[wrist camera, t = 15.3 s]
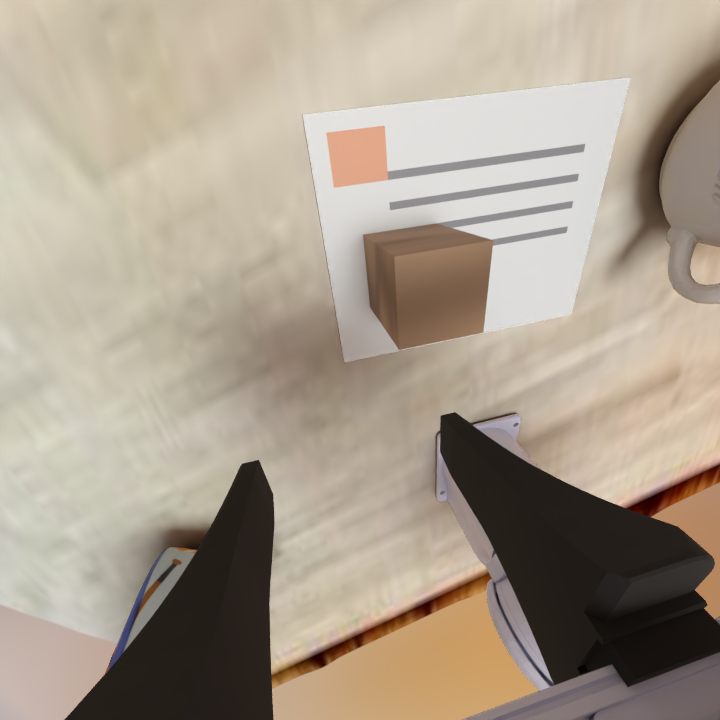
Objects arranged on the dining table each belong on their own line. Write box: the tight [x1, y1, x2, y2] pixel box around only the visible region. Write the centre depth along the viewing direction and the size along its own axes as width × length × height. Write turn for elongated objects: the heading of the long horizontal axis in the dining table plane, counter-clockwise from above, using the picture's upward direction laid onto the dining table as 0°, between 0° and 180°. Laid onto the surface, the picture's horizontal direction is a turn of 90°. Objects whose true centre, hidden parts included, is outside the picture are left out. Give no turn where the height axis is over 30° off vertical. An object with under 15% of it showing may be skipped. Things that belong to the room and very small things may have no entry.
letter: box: [303, 77, 631, 363], centre depth 20 cm, size 14×18×1 cm
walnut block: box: [363, 223, 493, 350], centre depth 17 cm, size 4×4×6 cm
